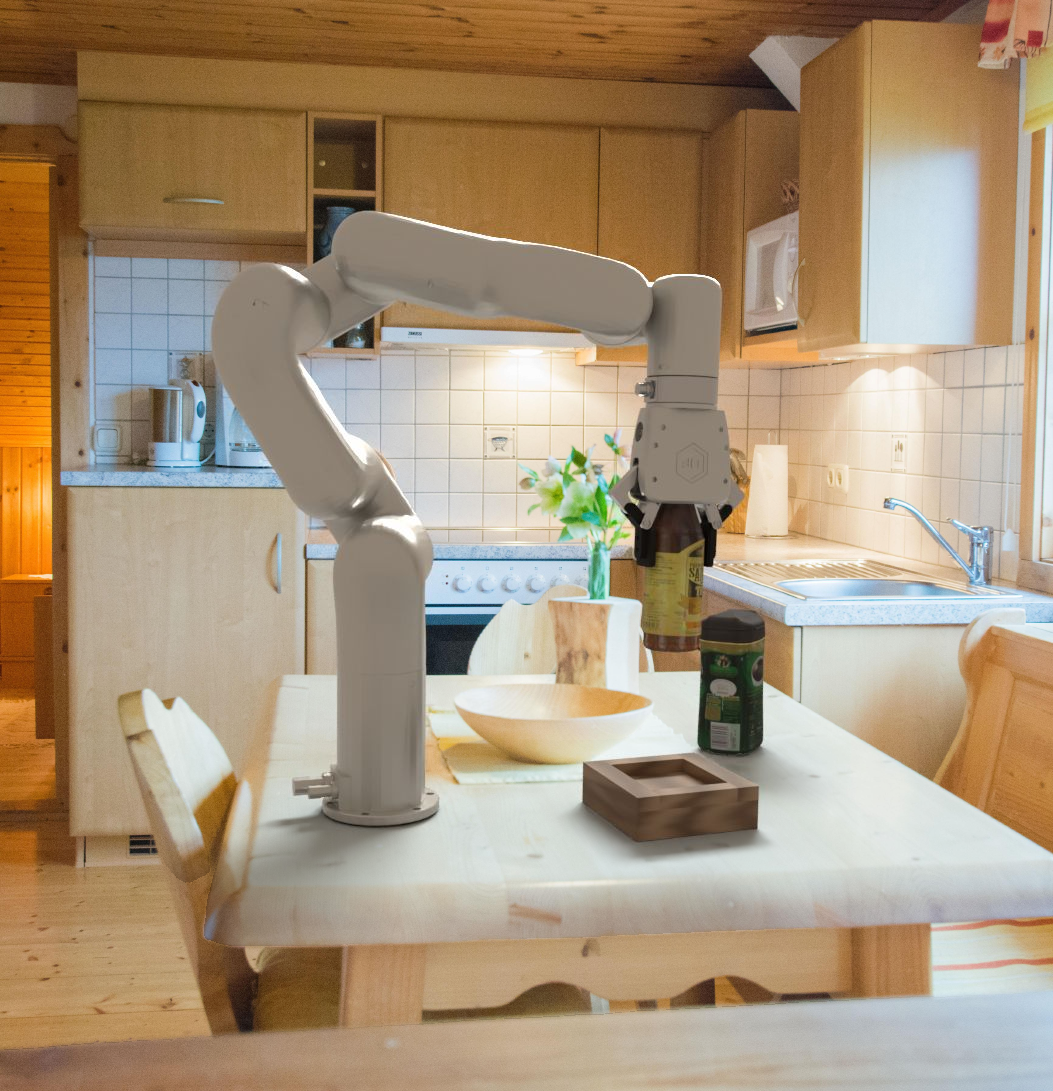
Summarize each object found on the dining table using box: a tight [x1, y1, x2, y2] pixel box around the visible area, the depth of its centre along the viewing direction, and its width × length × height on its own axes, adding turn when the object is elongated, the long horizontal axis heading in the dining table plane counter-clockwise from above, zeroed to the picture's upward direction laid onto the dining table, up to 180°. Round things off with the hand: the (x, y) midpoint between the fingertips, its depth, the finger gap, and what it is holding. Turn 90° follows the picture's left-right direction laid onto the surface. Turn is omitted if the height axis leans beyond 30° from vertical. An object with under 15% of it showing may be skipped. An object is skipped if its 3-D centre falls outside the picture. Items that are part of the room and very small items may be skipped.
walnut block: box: [581, 752, 760, 843], centre depth 123 cm, size 14×14×4 cm
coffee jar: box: [696, 608, 766, 756], centre depth 151 cm, size 10×8×19 cm
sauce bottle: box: [642, 503, 705, 653], centre depth 121 cm, size 6×6×20 cm
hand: (674, 564), depth 121 cm, fingers closed on sauce bottle, 6 cm apart
